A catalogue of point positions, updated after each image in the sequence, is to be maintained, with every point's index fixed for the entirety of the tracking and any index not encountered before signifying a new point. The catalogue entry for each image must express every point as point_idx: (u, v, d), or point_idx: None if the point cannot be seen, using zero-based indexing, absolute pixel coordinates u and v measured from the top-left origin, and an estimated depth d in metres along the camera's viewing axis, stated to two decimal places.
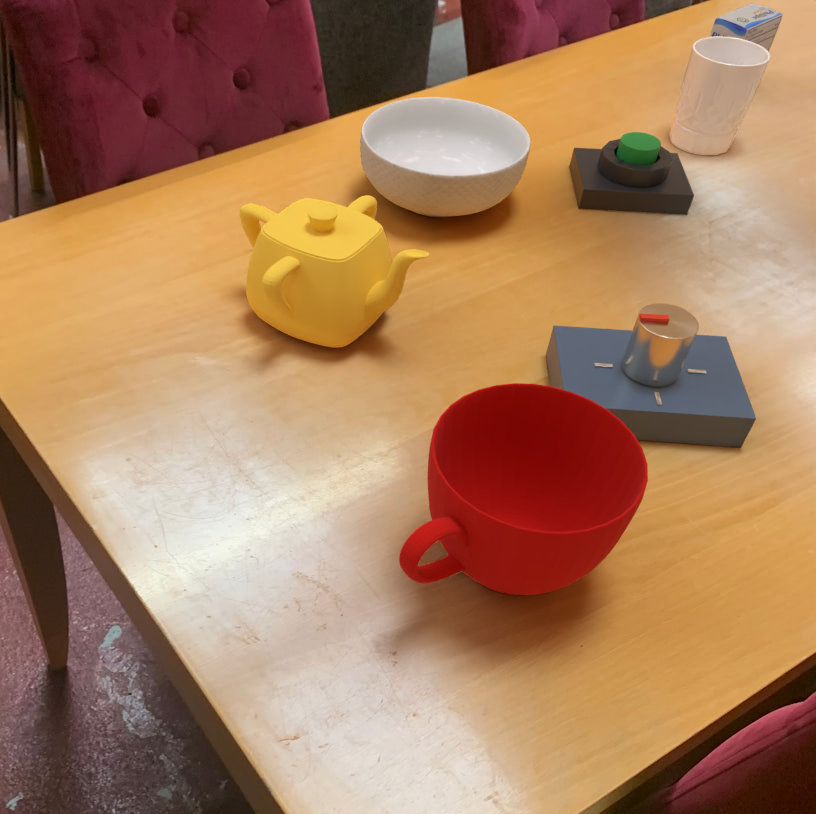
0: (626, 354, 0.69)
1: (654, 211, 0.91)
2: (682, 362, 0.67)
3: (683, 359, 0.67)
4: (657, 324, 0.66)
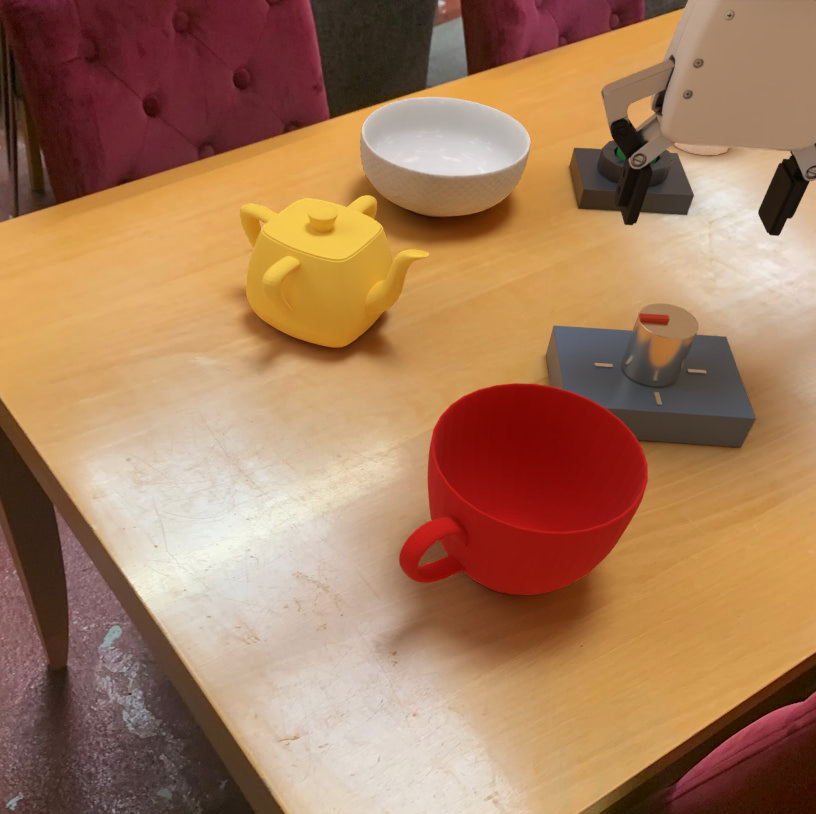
0: (626, 354, 0.69)
1: (654, 211, 0.91)
2: (682, 362, 0.67)
3: (683, 359, 0.67)
4: (657, 324, 0.66)
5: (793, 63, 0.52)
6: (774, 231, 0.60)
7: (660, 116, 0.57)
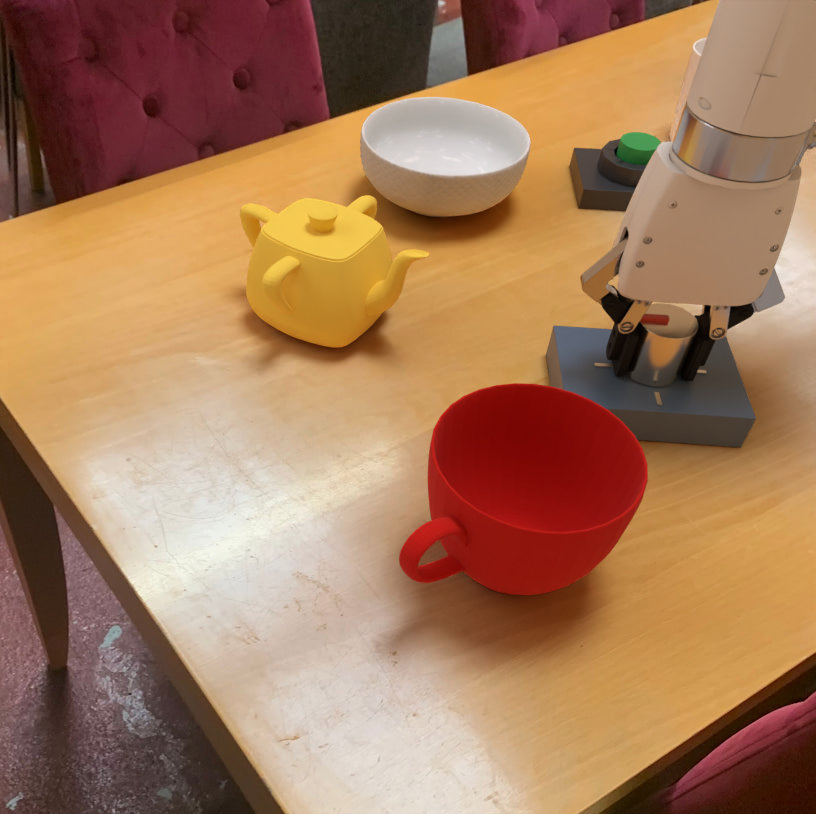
0: None
1: None
2: (682, 362, 0.67)
3: (683, 359, 0.67)
4: (657, 324, 0.66)
5: (731, 241, 0.59)
6: (688, 378, 0.68)
7: None
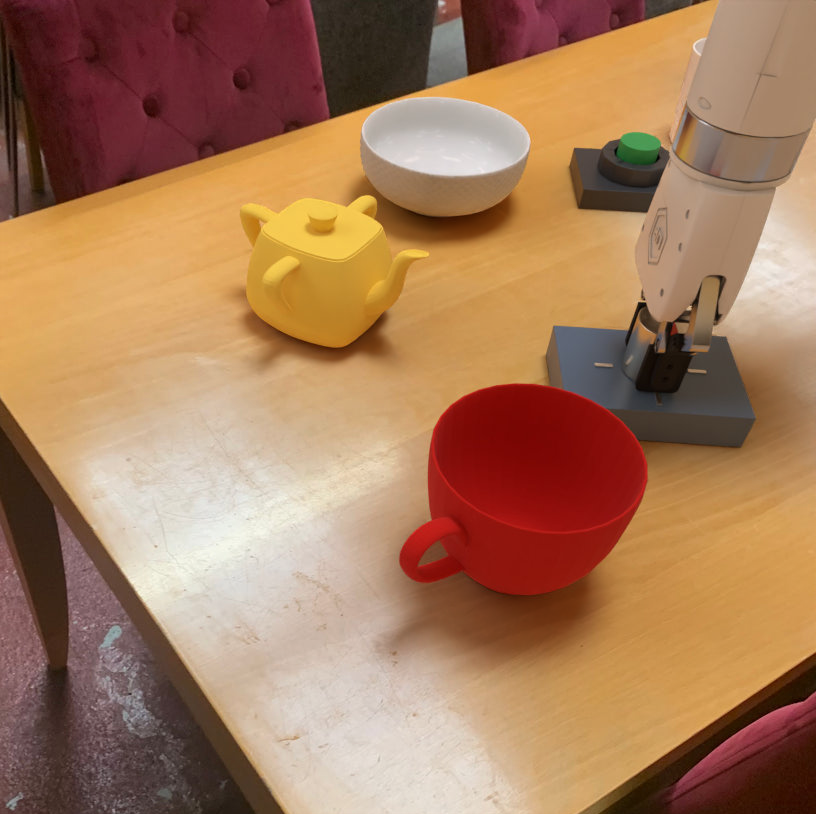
0: None
1: None
2: None
3: None
4: (678, 328, 0.66)
5: None
6: None
7: (680, 319, 0.62)
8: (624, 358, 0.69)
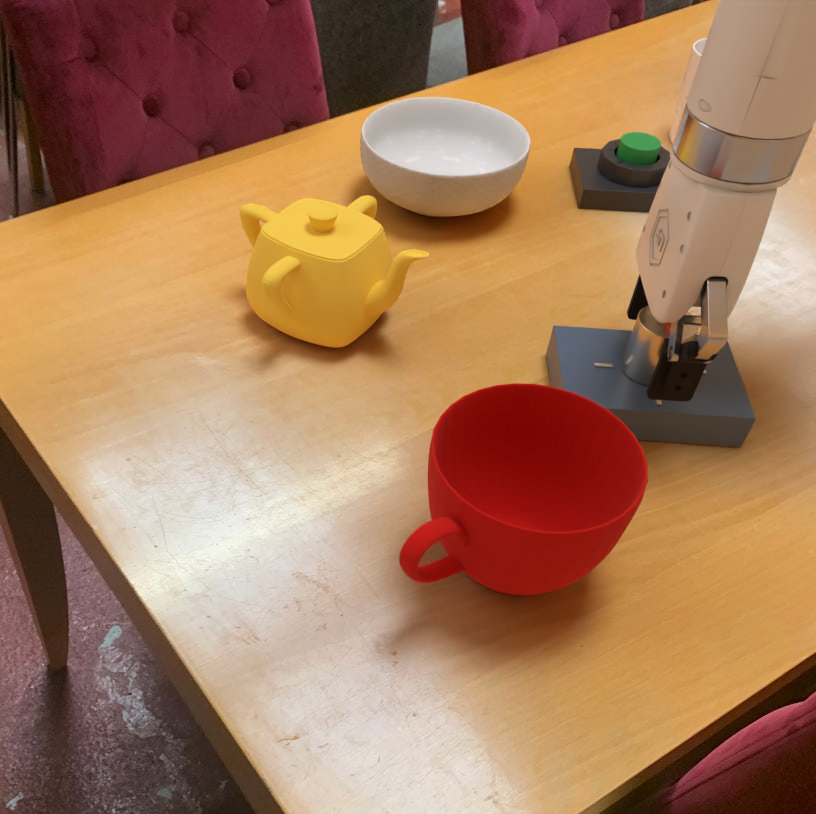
0: None
1: None
2: None
3: None
4: None
5: None
6: None
7: (690, 319, 0.61)
8: (624, 358, 0.69)
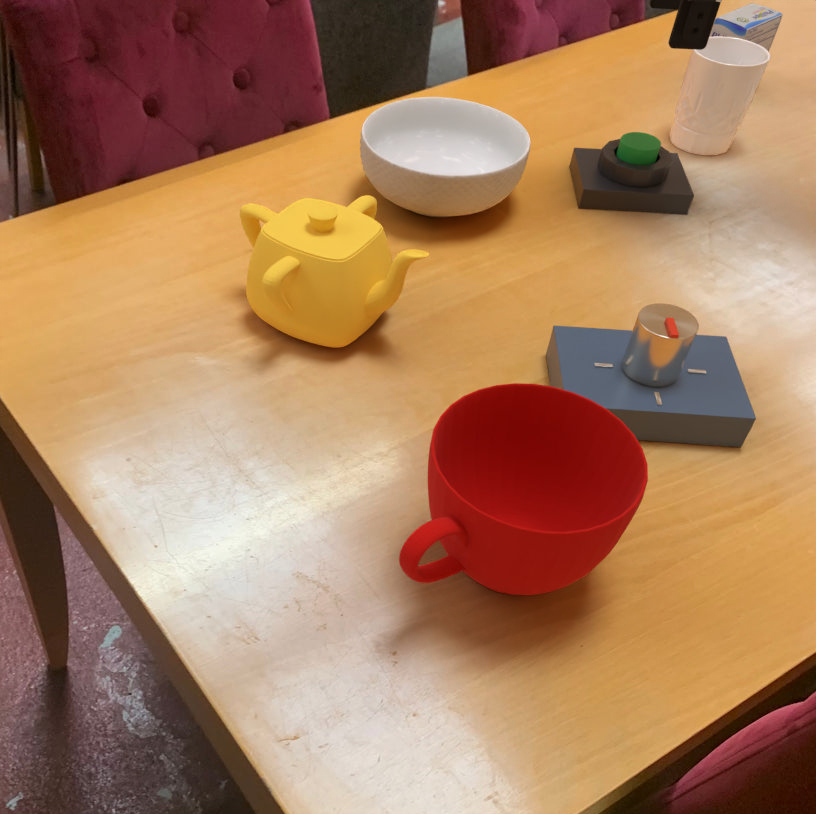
0: (661, 373, 0.67)
1: (654, 211, 0.91)
2: None
3: None
4: (678, 328, 0.66)
5: None
6: None
7: None
8: (624, 358, 0.69)
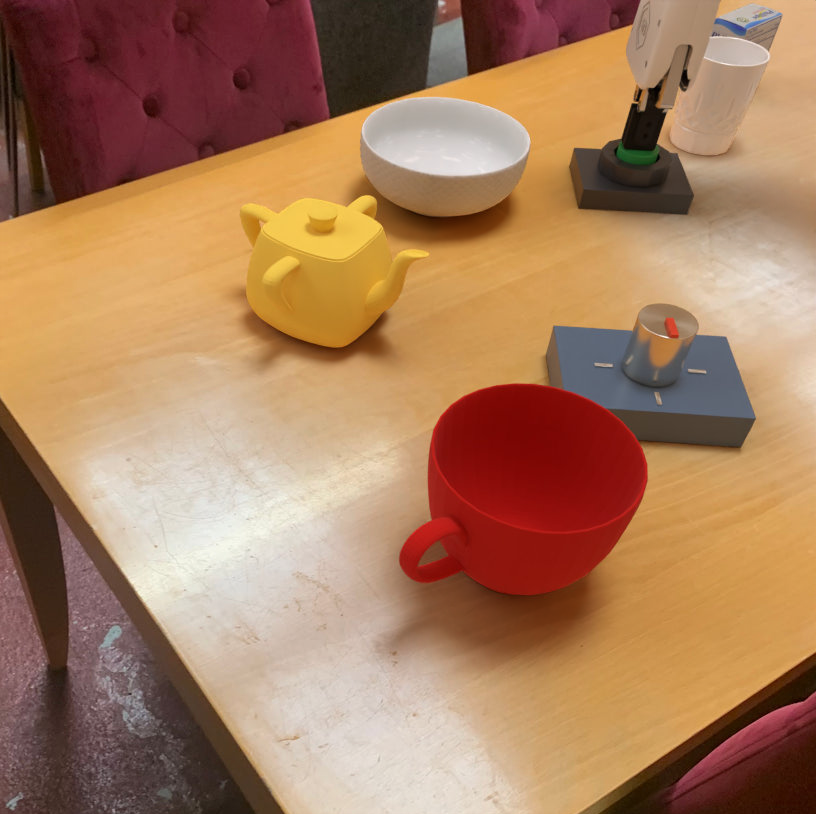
0: (661, 373, 0.67)
1: (654, 211, 0.91)
2: None
3: None
4: (678, 328, 0.66)
5: None
6: None
7: (656, 87, 0.85)
8: (624, 358, 0.69)
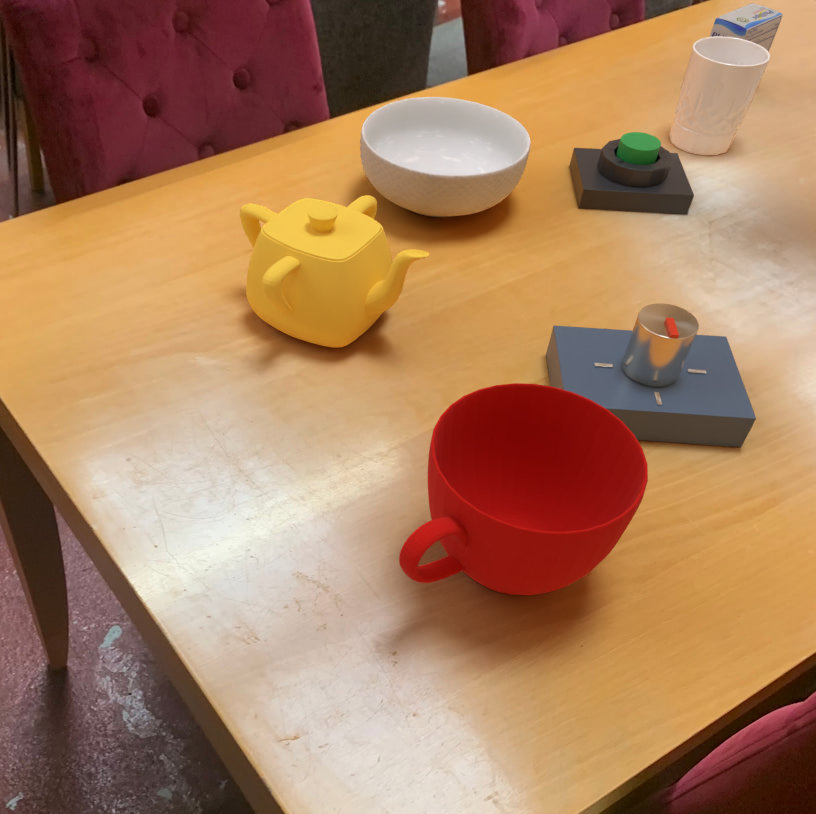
0: (661, 373, 0.67)
1: (654, 211, 0.91)
2: None
3: None
4: (678, 328, 0.66)
5: None
6: None
7: None
8: (624, 358, 0.69)
